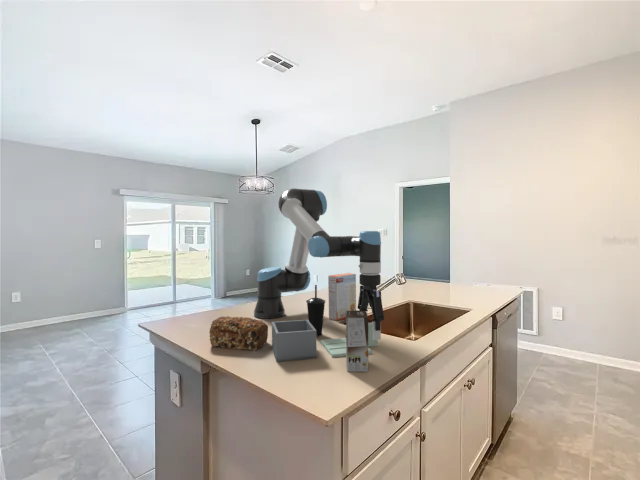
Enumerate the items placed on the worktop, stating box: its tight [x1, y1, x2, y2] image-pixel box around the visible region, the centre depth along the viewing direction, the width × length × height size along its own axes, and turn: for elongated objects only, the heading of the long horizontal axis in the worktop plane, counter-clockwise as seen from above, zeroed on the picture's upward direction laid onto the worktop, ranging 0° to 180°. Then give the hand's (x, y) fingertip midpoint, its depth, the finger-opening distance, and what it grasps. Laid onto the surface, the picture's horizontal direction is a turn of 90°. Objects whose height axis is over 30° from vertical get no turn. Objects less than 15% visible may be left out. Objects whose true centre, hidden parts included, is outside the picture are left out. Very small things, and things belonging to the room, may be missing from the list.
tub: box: [271, 319, 317, 363], centre depth 111 cm, size 14×13×9 cm
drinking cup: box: [306, 284, 326, 338], centre depth 131 cm, size 8×8×20 cm
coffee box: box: [345, 309, 369, 373], centre depth 100 cm, size 9×6×16 cm
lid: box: [320, 321, 379, 358], centre depth 116 cm, size 15×19×8 cm
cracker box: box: [327, 272, 357, 321], centre depth 158 cm, size 14×6×21 cm, turn 133°
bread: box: [209, 316, 269, 352], centre depth 119 cm, size 19×11×10 cm, turn 76°
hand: (369, 334), depth 118 cm, fingers open, 11 cm apart
